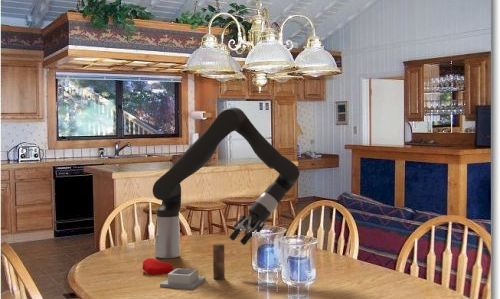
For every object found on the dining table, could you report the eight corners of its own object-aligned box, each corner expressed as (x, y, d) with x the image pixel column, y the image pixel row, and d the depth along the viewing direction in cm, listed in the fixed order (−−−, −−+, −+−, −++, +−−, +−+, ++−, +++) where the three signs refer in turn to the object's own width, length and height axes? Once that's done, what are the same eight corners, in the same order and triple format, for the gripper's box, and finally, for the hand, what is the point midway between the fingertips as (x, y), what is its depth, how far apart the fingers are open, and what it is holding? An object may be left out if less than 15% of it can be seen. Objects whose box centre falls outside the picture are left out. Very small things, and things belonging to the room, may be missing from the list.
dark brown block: (211, 279, 195) (211, 246, 194) (215, 276, 198) (215, 243, 198) (222, 280, 193) (222, 246, 193) (226, 277, 197) (225, 244, 197)
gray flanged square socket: (160, 286, 186) (159, 275, 186) (174, 277, 197) (174, 266, 197) (192, 289, 183) (192, 277, 182) (205, 279, 194) (205, 268, 194)
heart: (160, 281, 198) (175, 272, 207) (161, 271, 197) (175, 261, 206) (133, 273, 203) (148, 264, 212) (133, 262, 202) (149, 254, 211)
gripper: (247, 198, 209) (221, 231, 204) (267, 203, 197) (239, 238, 191) (259, 211, 212) (233, 244, 207) (279, 216, 199) (252, 251, 194)
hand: (236, 241), depth 199 cm, fingers open, 8 cm apart
